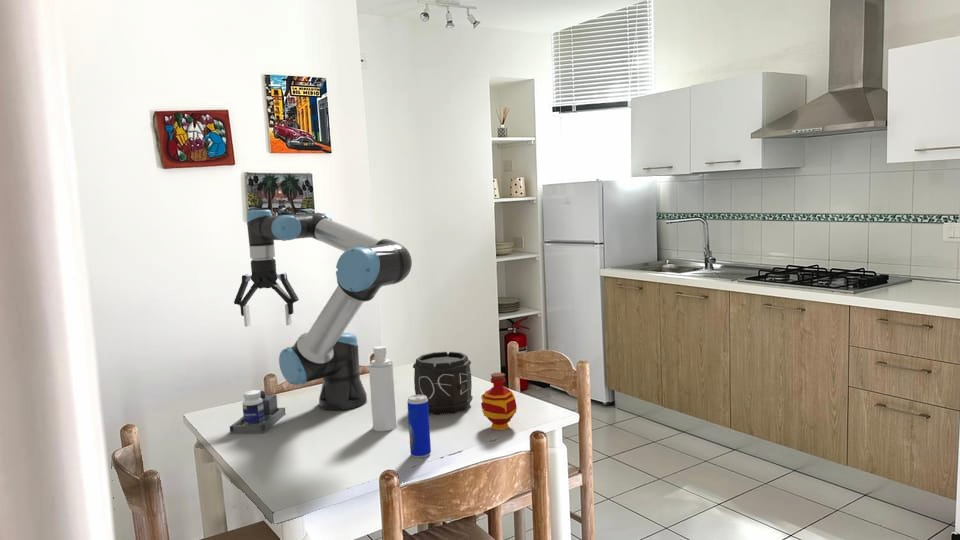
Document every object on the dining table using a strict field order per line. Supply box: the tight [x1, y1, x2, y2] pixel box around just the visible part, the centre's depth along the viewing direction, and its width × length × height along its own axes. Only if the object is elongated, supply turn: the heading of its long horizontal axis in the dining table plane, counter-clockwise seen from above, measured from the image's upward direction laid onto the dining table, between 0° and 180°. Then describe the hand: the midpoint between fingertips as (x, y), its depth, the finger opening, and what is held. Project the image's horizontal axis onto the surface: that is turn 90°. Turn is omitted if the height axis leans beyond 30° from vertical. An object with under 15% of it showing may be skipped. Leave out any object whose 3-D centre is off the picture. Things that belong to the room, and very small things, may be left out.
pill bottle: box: [242, 389, 264, 425], centre depth 201 cm, size 6×6×10 cm
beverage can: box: [406, 394, 432, 459], centre depth 173 cm, size 5×5×15 cm
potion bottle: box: [480, 372, 518, 431], centre depth 191 cm, size 10×10×15 cm
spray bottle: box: [368, 345, 397, 432], centre depth 195 cm, size 7×7×25 cm
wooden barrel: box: [412, 351, 474, 416], centre depth 212 cm, size 18×18×16 cm
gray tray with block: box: [229, 390, 286, 435], centre depth 204 cm, size 10×17×9 cm, turn 175°
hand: (268, 325), depth 218 cm, fingers open, 13 cm apart
